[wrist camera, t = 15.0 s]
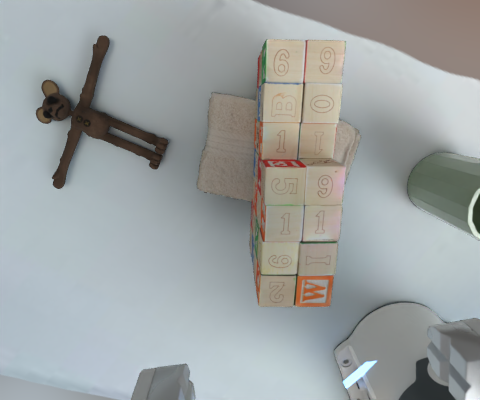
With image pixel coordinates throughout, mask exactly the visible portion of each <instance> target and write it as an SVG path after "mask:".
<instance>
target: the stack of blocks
mask: <svg viewBox="0 0 480 400" xmlns="http://www.w3.org/2000/svg"><path fill="white" fill-rule="evenodd" d="M345 49H346V41H333V40H306V41H305V40H281V39H267V40H266V41H265V43H264V45H263V47H262V51H261V53H260V55H259V58H258V80H257V90H256V109H255V132H254V147H255V148H254V169H253V173H254V175H253V198H252V204H251V224H250V242H249V246H250V253H251V257H252V262H253V270H254V271H253V272H254V280H255V286H256V291H257V298H258V305H259V306H260V307H293V306H294V305H295V306H297V307H327V306H330V304H331V296H332V287H333V279H334V276H333V275H334V274H335V271H336V261H337V251H338V242H337V241H338V240H339V238H340V228H341V218H342V202H343V194H344V184H345V174H346V166H345V165H343V164H341V163H339V162H337V161H336V160H334V150H335V141H336V132H337V124H338V122H339V115H340V106H341V97H342V88H343V84H342V76H343V66H344V58H345Z"/></svg>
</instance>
